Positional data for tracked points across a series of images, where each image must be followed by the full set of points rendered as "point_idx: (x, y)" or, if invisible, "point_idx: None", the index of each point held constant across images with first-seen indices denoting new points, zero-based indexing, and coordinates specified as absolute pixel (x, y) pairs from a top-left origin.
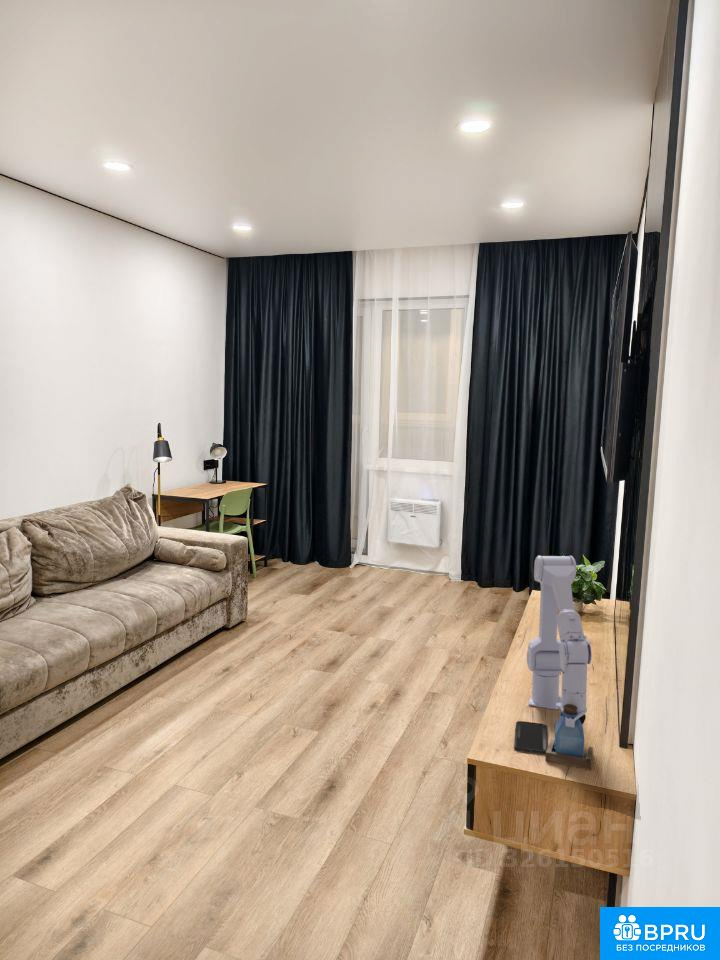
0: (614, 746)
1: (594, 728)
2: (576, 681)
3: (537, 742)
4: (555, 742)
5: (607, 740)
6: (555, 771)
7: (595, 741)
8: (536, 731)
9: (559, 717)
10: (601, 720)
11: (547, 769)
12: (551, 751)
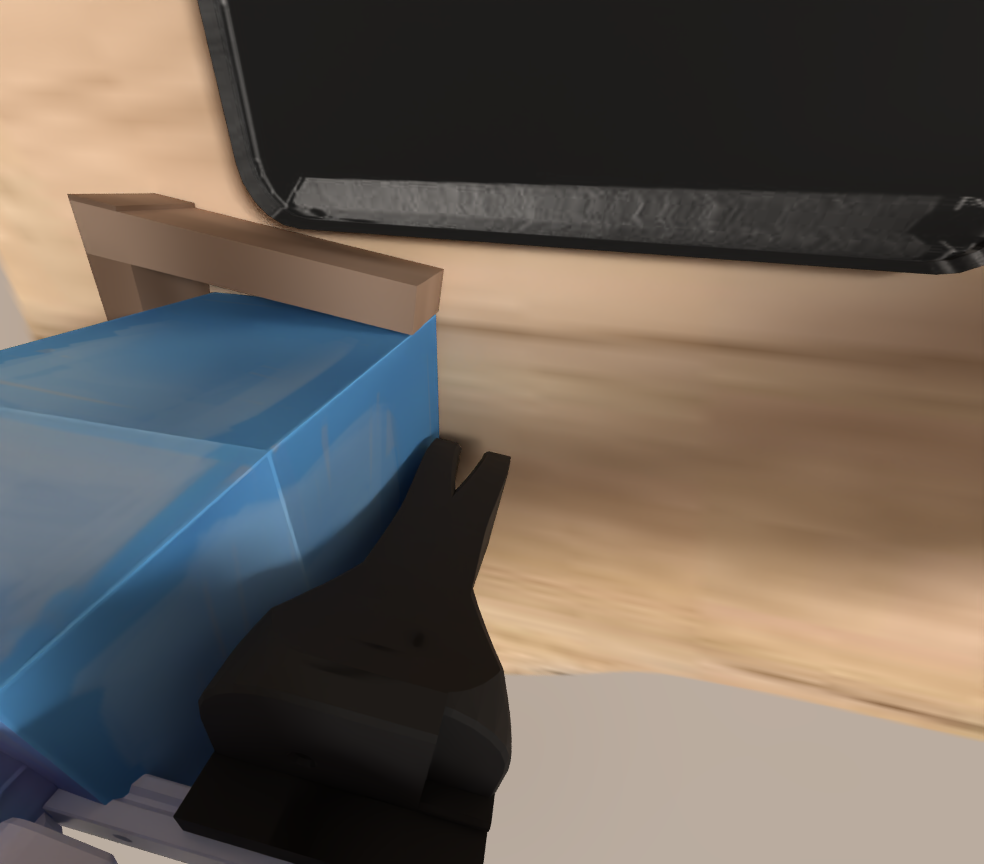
0: (554, 658)
1: (823, 639)
2: None
3: (446, 99)
4: (226, 336)
5: (629, 651)
6: (49, 274)
7: (608, 599)
8: (794, 87)
9: (68, 626)
10: (956, 701)
11: (28, 204)
12: (129, 268)
